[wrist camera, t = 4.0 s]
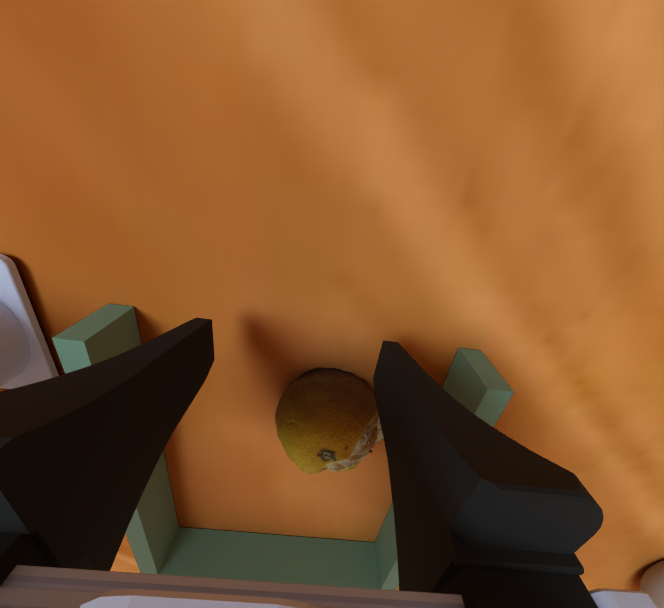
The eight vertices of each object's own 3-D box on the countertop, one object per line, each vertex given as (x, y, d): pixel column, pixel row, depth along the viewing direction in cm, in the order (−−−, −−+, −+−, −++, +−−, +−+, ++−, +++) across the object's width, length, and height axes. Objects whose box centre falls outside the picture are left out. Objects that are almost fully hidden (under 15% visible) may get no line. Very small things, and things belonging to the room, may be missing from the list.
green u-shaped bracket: (165, 533, 23) (143, 581, 20) (108, 303, 13) (51, 337, 11) (385, 550, 24) (391, 598, 22) (480, 350, 14) (514, 392, 12)
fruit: (344, 469, 20) (347, 530, 16) (248, 412, 17) (228, 471, 14) (438, 407, 17) (463, 466, 14) (340, 329, 14) (343, 378, 11)
